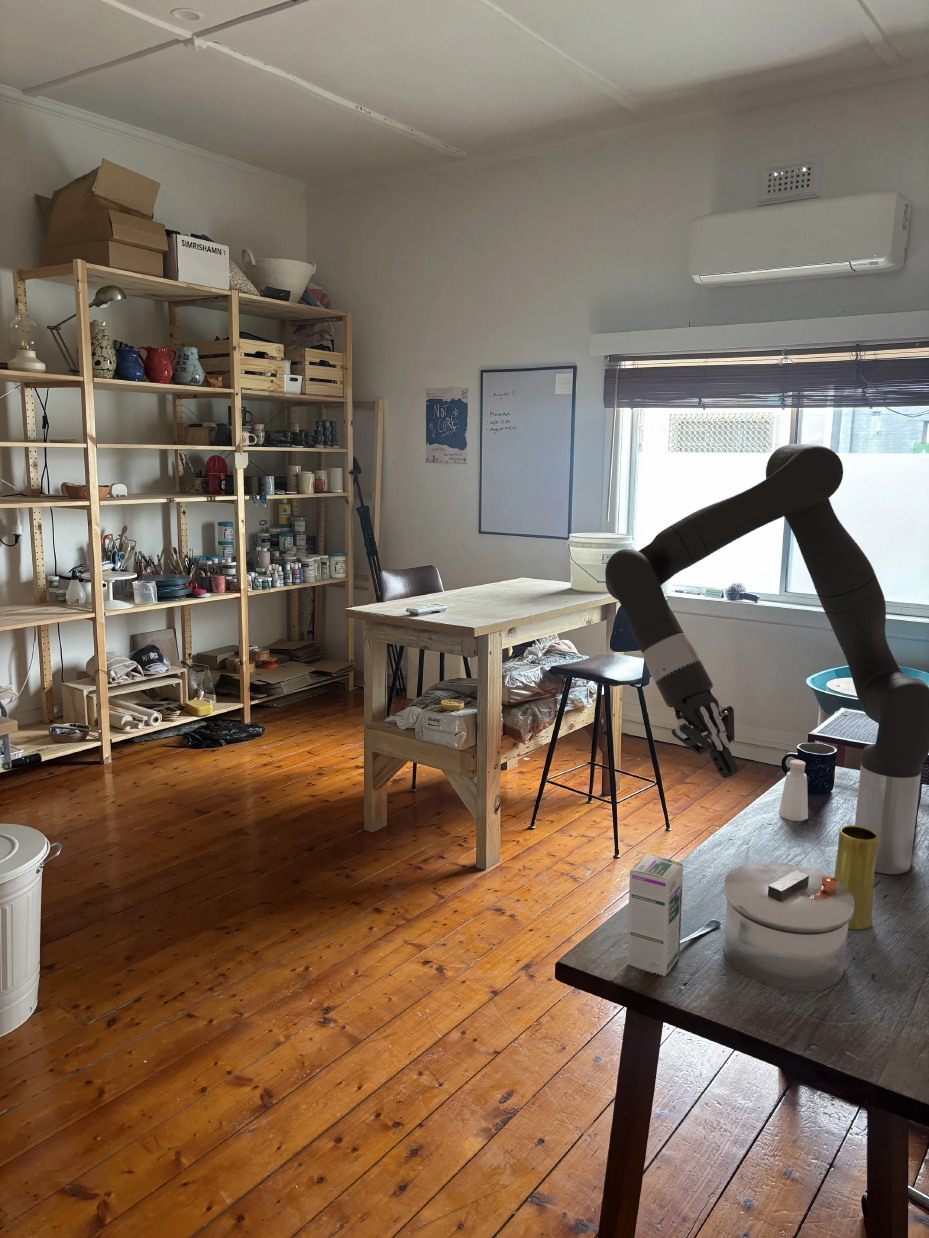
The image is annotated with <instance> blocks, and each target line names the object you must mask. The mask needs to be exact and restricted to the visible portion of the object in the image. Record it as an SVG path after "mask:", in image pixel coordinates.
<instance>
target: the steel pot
mask: <svg viewBox="0 0 929 1238" xmlns="http://www.w3.org/2000/svg"><path fill="white" fill-rule="evenodd" d="M725 909H726V911H725V924H724V939H723V940H724V941H723V954H724V956H725V959H726V960H727V961H728V963H729V964H730V965H731V966H732V967H733V968H734V969H736V970H737V972H739V973H741V974H742V975H743V976H745V977H747V978H748V979H750V980H753V981H755V982H757V983H759V984H761V985H764V986H768V987H771V988H775V989H778V990H784V991H787V992H788V991H791V992H803V993H804V992H816V991H817V992H818V991H821V990H825V989H829V988H830V987H833V986H834V985H836V984H837V983H838V982H840V980H841V979H842V977H843V974H844V971H845V970H844V969H845V962H846V961H845V959H846V953H847V952H846V950H847V941H848V931H849V929H848V923H847V924H846V925H844V926H842V927H840V928H837V929H834V930H830V931H823V932H798V931H790V930H784V929H780V928H775V927H772V926H768V925H766V924H763V923H760V922H758V921H755V920H753V919H751V918H749V917H747V916H745V915H744V914H742V913H740V912H739V911H738V910H736V909H735V908H734V907H733V906H732V905H731V904H730V903H729V902H728V900H727V899H726V908H725Z"/></svg>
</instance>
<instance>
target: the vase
mask: <svg viewBox="0 0 929 1238" xmlns="http://www.w3.org/2000/svg"><path fill="white" fill-rule="evenodd" d="M877 842H878V835H877V834H876V833H875V832H874V831H872V830H870V829H868V828H865V827H862V826H855V824H854V825H852V824H850V825H844V826H841V827H840V829H839V832H838V844H837V850H836V858H835V866H834V873H833V874H834V875H833V876H834V877H833V878H835V879H836V880H837V881H838V882H839V883H841V884H842V885H843V886H844V887H846V888H847V889H848V890H849V892H850V893H851V894H852V896H853V898H854V913H853V917H852V919H851V920H850V921H849V922H848V930H853V931H854V930H855V931H858V930H859V931H860V930H865V929H868V928H870V927H871V926H872V924H873V903H874V902H873V901H874V898H873V897H874V884H875V873H876V872H875V861H876V851H877Z"/></svg>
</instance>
